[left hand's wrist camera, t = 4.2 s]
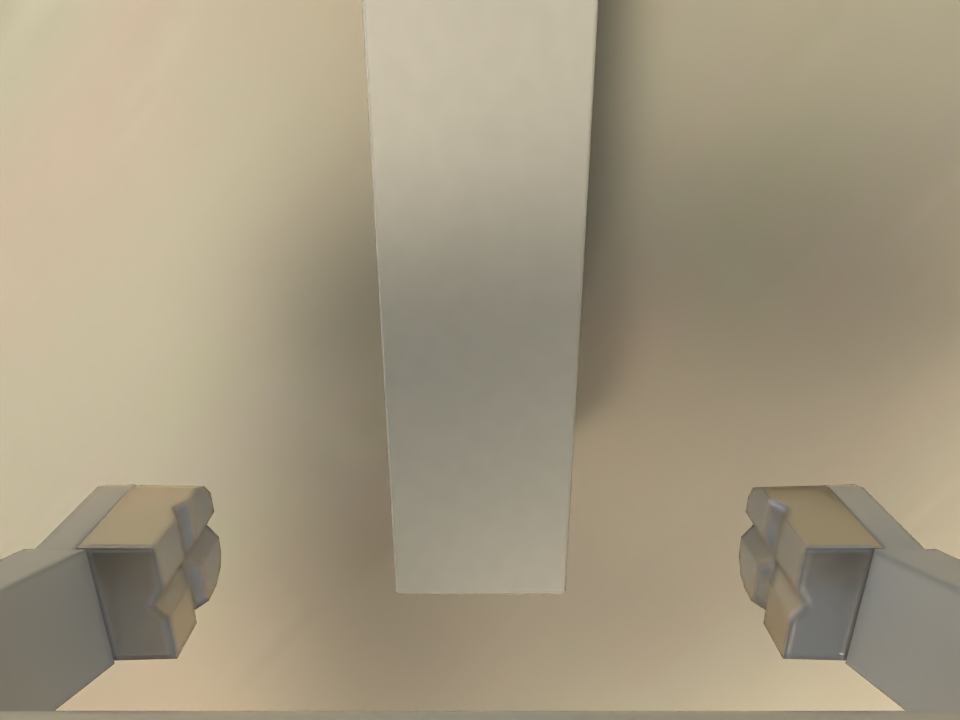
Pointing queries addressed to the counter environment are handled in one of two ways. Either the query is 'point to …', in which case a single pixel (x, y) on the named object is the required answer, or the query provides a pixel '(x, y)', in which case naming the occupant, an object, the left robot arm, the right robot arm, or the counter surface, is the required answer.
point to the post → (480, 280)
